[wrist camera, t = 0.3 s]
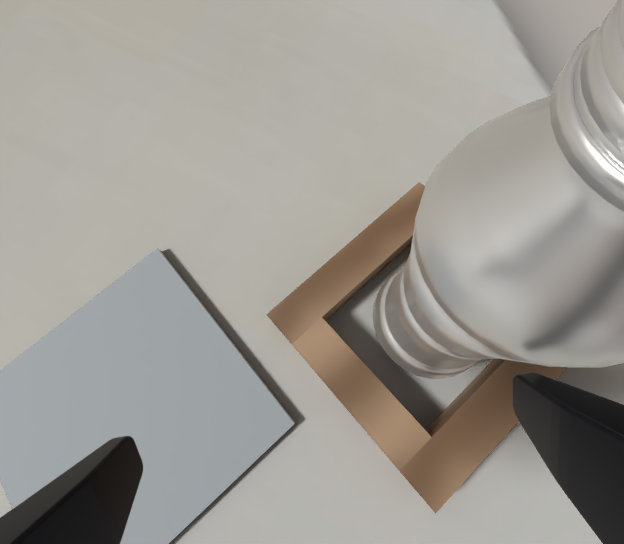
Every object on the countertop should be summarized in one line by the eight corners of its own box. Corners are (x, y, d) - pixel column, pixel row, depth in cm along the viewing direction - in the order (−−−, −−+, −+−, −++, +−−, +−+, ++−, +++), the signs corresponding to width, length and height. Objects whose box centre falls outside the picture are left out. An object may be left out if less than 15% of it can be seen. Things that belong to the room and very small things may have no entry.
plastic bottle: (442, 267, 23) (862, -232, 5) (488, 362, 21) (1707, 157, 2) (355, 295, 23) (414, -97, 4) (392, 394, 21) (839, 459, 2)
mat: (295, 422, 21) (294, 423, 20) (77, 630, 18) (68, 638, 18) (161, 251, 26) (157, 248, 25) (-27, 398, 23) (-36, 398, 23)
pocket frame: (578, 334, 21) (602, 329, 19) (426, 500, 19) (435, 513, 17) (413, 197, 25) (419, 182, 23) (272, 320, 23) (266, 314, 21)
